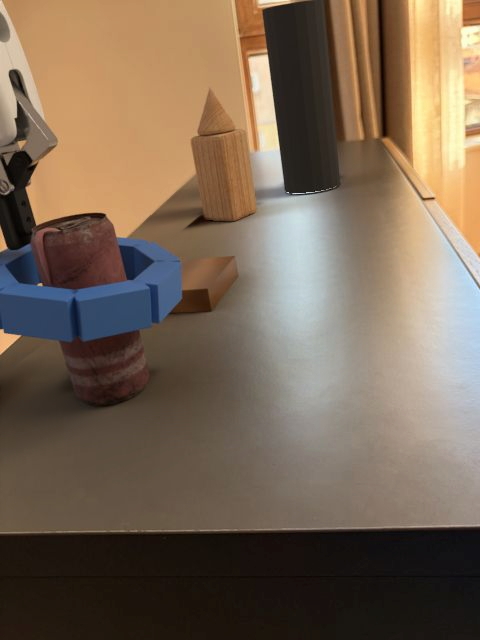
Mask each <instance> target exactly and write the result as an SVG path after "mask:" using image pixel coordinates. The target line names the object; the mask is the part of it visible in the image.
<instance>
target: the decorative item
mask: <svg viewBox="0 0 480 640" xmlns="http://www.w3.org/2000/svg"><path fill="white" fill-rule="evenodd" d="M196 131H197V132H196V133H197V135H194V136H193V137H191V138H190V147H191V152H192V157H193V164H194V169H195V174H196V175H195V176H196V180H197V186H198V191H199V196H200V202H201V208H202V213H203V218H204V219H205V221H209V220H213V221H212V222H236V221H238V220H241V219H242V218H245V217H247V216H249V214H250V215H252V214H254V213H256V212H257V210H258V206H257V205H258V204H257V199H256V192H255V185H254V177H253V171H252V165H251V157H250V150H249V144H248V136H247V131H246V130H245V129H242V128H237V126H236V123H234V121H233V120H232V118H231V117H230V114H229V113H228V112H227V110H226V109H225V108H224V106H223V104H222V103H221V102H220V100H219V98H218V97H217V95H216V94H215V93H214V90H212V88H211V87H209V88H208V91H207V95H206V98H205V103H204V105H203V110H202V113H201V116H200V120H199V124H198V128H197V130H196Z"/></svg>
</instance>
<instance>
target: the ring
mask: <svg viewBox="0 0 480 640" xmlns="http://www.w3.org/2000/svg"><path fill="white" fill-rule="evenodd" d="M116 237H117V241H118V245H119V250H120V254H121V258H122V262H123V266H124V270H125V274H126V279H127V280H130V281H124V282H119V283H113V284H107V285H101V286H95V287H89V288H84V289H78V290H71V289H63V288H55V287H46V286H43V285H39V284H42V282H41V279H40V275H39V272H38V269H37V265H36V262H35V259H34V255H33V252H32V249H31V245H30V244H28V245H26V246H24V247H23V248H21V249H19V250H10V249H8V248H7V247H6V248H4V250H1V251H0V330H2V331H3V334H5V335H6V334H7V335H14V336H20V337H21V336H22V337H29V338H35V339H36V338H37V339H44V340H49V341H50V340H52V341H58V342H59V341H65V342H72V341H73V340H74V339H75V338H77V337H79V338H80V339H81V340H82V341H83V342H85V341H89V340H94V339H99V338H103V337H108V336H113V335H117V334H122V333H127V332H132V331H136V330H139V331H141V330H145V329H150V328H152V327H153V325H152V324H157V325H160V324H161V323H162V322H163V321H164V319H165V318H167V316H168V315H169V314H171V313H170V311H171V310H172V309H173V308H174V307H175V306H176V305H177V304H178V303H179V301H180V300H181V299H182V276H181V262H180V260H181V258H179V257H178V256H177V255H175V254H173V253H172V252H170V251H168V250H167V249H165V248H164V247H163V246H161V245H159V244H158V243H156V242H154V241H151V242H148V240H147V239H140V238H130V237H120V236H116Z"/></svg>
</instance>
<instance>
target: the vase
mask: <svg viewBox="0 0 480 640" xmlns="http://www.w3.org/2000/svg"><path fill="white" fill-rule="evenodd" d="M325 10H326V9H325V1H324V0H301V1H295V2H289V3H284V4H279V5H273V6H270V7H265V8H263V9H262V10H261V12H262V14H261V15H262V20H263V22H262V23H263V28H264V29H263V30H264V37H265V44H266V52H267V61H268V69H269V75H270V77H269V78H270V84H271V92H272V99H273V107H274V108H273V109H274V116H275V123H276V131H277V139H278V147H279V148H278V149H279V154H280V162H281V163H280V164H281V171H282V179H283V185H284V192H285V191H286V192H289V193H306V192H315V191H321V190H326V189H329V188H333V187H335V186H338V185H339V184H340V185H341V176H340V165H339V154H338V142H337V130H336V119H335V111H334V98H333V88H332V87H333V86H332V77H331V66H330V65H331V64H330V55H329V42H328V32H327V31H328V30H327V21H326V11H325ZM340 185H339V186H340ZM339 186H338V187H339ZM286 192H285V193H286Z"/></svg>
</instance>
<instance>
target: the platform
mask: <svg viewBox="0 0 480 640" xmlns="http://www.w3.org/2000/svg"><path fill="white" fill-rule="evenodd" d="M180 262H181V276H182V299H181V300H180V301H179V303H178V304H177V305H176V306H175V307H174V308H173V309H172V310H171V311H170V313H169V314H181V313H183V314H184V313H201V312H212V311H213V310H214V309H215V307H216V306H217V305H218V304H219V302H220V301H221V299H222V298H223V297H224V296H225V294H226V293H227V292H228V291H229V289H230V288H231V286H232V285H233V284H234V283H235V281H236V280H237V278H238V277H239V271H238V264H237V259H236V256H235V255H230V256H216V257H215V256H214V257H202V258H201V257H200V258H189V259H180ZM127 281H130V280H127Z"/></svg>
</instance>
